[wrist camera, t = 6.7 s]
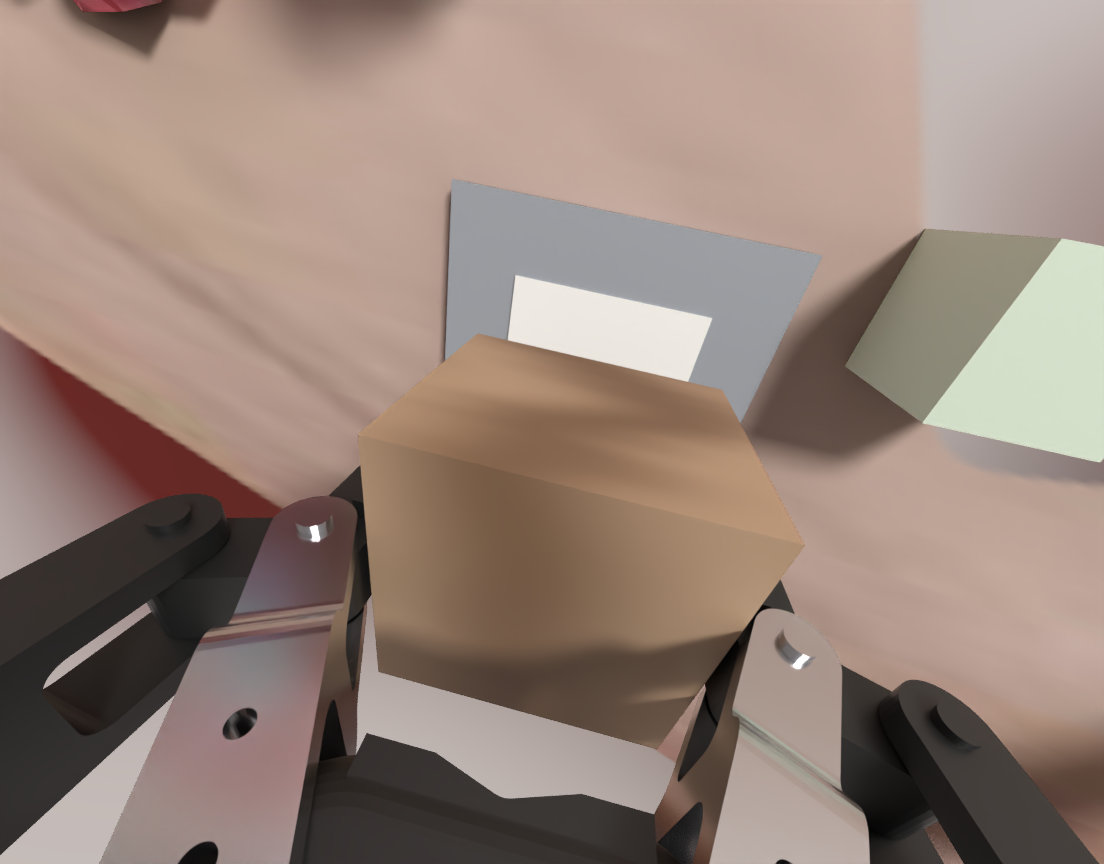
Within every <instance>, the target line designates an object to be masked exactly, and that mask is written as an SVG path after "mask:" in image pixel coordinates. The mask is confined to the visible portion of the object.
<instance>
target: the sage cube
mask: <svg viewBox="0 0 1104 864" xmlns="http://www.w3.org/2000/svg"><path fill="white" fill-rule="evenodd" d="M845 367H847V368H848V369H849V370H851V371H852V372H853V373H855V374H856V375H857V376H859V377H860V378H862V379H863V380H864V381H866V382H867V383H868V384H870V385H871V386H872V387H874V388H875V389H877V390H878V391H879V392H881V393H882V394H883V395H885V396H886V397H887V398H889V399H890V400H891V401H893V402H894V403H896V404H897V405H898V406H900V407H901V408H902V409H904V410H905V411H906V412H908V413H909V414H911V415H912V416H913V417H915V418H916V419H917V420H919V421H920V422H921V423H924V424H929V425H933V426H938V427H942V428H947V429H951V430H956V431H960V432H965V433H970V434H974V435H979V436H983V437H987V438H992V439H997V440H1001V441H1005V442H1010V443H1015V444H1019V445H1023V446H1028V447H1032V448H1037V449H1041V450H1046V451H1051V452H1055V453H1059V454H1064V455H1068V456H1073V457H1077V458H1082V459H1087V460H1091V461H1095V462H1101V461H1102V460H1103V459H1104V246H1098V245H1093V244H1088V243H1083V242H1077V241H1072V240H1067V239H1062V238H1048V237H1033V236H1019V235H1006V234H992V233H977V232H963V231H948V230H935V229H925V230H924V232H923V234H922V235H921V237H920V239H919V241H918V242H917V244H916V246H915V247H914V249H913V251H912V252H911V254H910V256H909V258H908V259H907V261H906V263H905V264H904V266H903V268H902V269H901V271H900V273H899V275H898V276H897V278H896V280H895V281H894V283H893V285H892V286H891V288H890V290H889V292H888V293H887V295H886V297H885V298H884V300H883V302H882V303H881V305H880V307H879V309H878V310H877V312H876V314H875V315H874V317H873V319H872V320H871V322H870V324H869V326H868V327H867V329H866V331H865V332H864V334H863V336H862V337H861V339H860V341H859V343H858V344H857V346H856V348H855V349H854V351H853V353H852V354H851V356H850V358H849V360H848V361H847V363H846V365H845Z"/></svg>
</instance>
